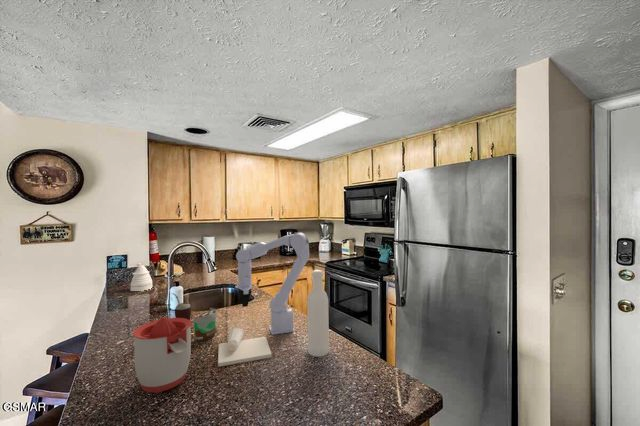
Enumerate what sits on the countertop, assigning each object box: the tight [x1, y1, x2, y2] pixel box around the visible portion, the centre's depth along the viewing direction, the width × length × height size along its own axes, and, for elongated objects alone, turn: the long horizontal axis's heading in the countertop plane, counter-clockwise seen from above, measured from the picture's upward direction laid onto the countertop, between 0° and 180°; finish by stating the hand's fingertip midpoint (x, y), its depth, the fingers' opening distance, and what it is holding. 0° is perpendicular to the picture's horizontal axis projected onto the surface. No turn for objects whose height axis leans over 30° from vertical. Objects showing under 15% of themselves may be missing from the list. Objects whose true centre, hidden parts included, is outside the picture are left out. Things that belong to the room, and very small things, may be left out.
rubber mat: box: [217, 336, 273, 368], centre depth 105 cm, size 18×15×1 cm
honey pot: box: [130, 262, 153, 292], centre depth 195 cm, size 13×13×18 cm
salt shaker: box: [227, 327, 244, 351], centre depth 107 cm, size 5×5×11 cm
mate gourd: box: [171, 292, 192, 321], centre depth 136 cm, size 8×8×15 cm
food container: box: [192, 307, 218, 342], centre depth 118 cm, size 12×6×10 cm, turn 169°
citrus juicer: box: [132, 316, 192, 394], centre depth 86 cm, size 16×17×20 cm
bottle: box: [306, 269, 330, 358], centre depth 104 cm, size 8×8×30 cm
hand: (245, 306), depth 125 cm, fingers closed
